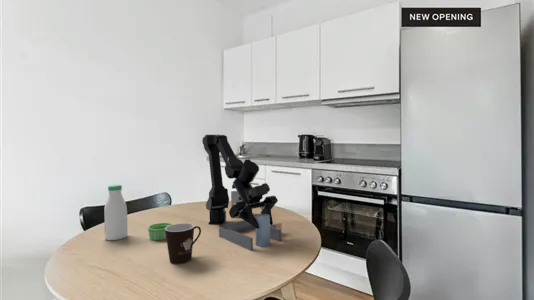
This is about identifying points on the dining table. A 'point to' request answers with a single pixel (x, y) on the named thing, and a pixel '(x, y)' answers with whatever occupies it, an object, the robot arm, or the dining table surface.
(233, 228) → the bent channel
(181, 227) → the coffee mug
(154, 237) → the ramekin
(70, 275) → the dining table surface
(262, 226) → the slate peg
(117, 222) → the milk bottle
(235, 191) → the supplement box
